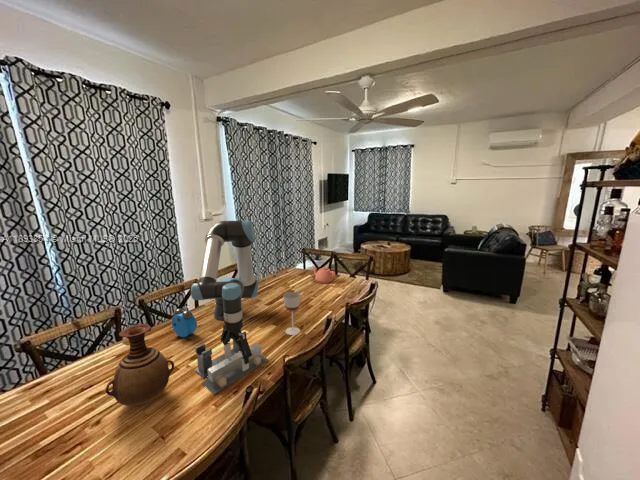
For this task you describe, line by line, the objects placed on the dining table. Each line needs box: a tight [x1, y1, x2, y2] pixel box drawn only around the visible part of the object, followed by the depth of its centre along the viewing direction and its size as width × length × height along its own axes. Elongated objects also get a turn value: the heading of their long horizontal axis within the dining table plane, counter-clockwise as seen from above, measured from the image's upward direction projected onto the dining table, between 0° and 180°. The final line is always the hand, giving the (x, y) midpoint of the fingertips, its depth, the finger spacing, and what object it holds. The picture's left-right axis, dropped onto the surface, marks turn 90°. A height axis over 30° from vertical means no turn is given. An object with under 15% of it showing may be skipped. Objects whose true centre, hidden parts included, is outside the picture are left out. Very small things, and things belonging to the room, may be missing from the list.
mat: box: [201, 354, 270, 395], centre depth 123 cm, size 10×28×1 cm, turn 140°
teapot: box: [312, 265, 336, 284], centre depth 233 cm, size 22×15×12 cm
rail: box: [207, 342, 262, 383], centre depth 121 cm, size 25×4×4 cm, turn 141°
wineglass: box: [282, 291, 302, 336], centre depth 154 cm, size 9×10×22 cm
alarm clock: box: [171, 308, 198, 338], centre depth 150 cm, size 13×6×15 cm, turn 65°
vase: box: [105, 323, 175, 407], centre depth 104 cm, size 21×18×30 cm
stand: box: [194, 331, 247, 379], centre depth 128 cm, size 8×24×12 cm, turn 140°
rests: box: [215, 356, 261, 388], centre depth 122 cm, size 8×20×3 cm, turn 140°
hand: (236, 362), depth 122 cm, fingers open, 13 cm apart
